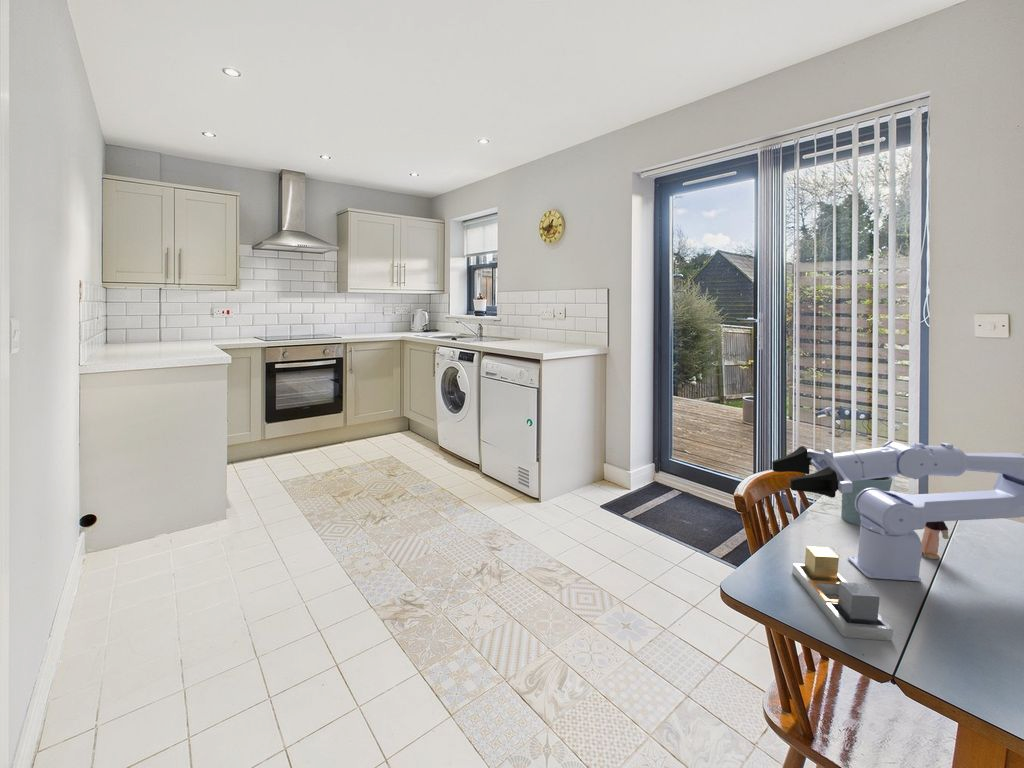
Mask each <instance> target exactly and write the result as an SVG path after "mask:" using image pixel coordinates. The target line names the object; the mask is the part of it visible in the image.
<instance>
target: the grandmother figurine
mask: <svg viewBox="0 0 1024 768" xmlns="http://www.w3.org/2000/svg"><path fill="white" fill-rule="evenodd" d="M923 530H924V531H923V534H922V539H921V540H920V541H921V545H922V553H921V554H923V557H924V558H926V559H929V560H930V559H931V560H939V559H940V558H941V557H940V555H939V554H938V553H939V547H940V535H939V534H940V532H941V535H942V536H941V537H942V538H943V539H944V540H948V539H949V538H950V536H949V527H948V526H947V524H946V523H945V521H938V522H926V525H925V527H924V529H923Z"/></svg>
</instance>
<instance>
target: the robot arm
mask: <svg viewBox="0 0 1024 768" xmlns="http://www.w3.org/2000/svg"><path fill="white" fill-rule="evenodd" d="M810 466H813V467H814V468H815V470H816V472H813V473H810ZM771 467H772V471H773V472H776V473H786V472H787V473H788V472H793V473H802V474H805V475H800V476H796V477H792V478H791V479H790V480H789V481H790V482H789V483H790V490H791V491H793V492H794V491H795V492H803V493H804V492H806V493H813V494H819V495H822V496H826V497H828V498H835V497H836V493H837V491H838V492H839V493H841V494H842V493H849V492H852V485H853V483H852V482H851V481H859V480H866V479H874V478H882V477H889V476H891V477H895V476H899V475H900V476H903V477H906V478H908V479H909V478H910V479H914V480H918V479H921V478H923V477H925V476H934V477H935V476H937V477H939V476H940V477H959V476H962V475H963V474H964V473H965V472H982V473H992V474H993V473H994V474H998V475H997V478H996V480H995V482H994V485H993V489H991V490H974V491H972V490H971V491H955V492H954V491H953V492H936V493H919V494H918V493H917V494H915V493H914V494H908V493H904V492H900V491H899V492H898V491H893V490H890V491H882V490H880V489H877V488H866V489H864V490H862V491H861V492H859V493H858V495H857V496H856V498H855V508H856V510H857V511H858V512H859V513H860V514H861V515H860V520H861V526H860V527H859V528H860V530H859V540H858V550H857V556H847V559H848V561H849V562H850V563H852V564H853V566H855V567H856V568H857V569H858V570H859V571H860V572H862V574H864V576H865V577H867V578H869V579H880V580H881V579H882V580H893V581H895V580H896V581H911V582H912V581H913V582H922V578H921V577H920V570H921V563H922V562H921V560H922V554H923V553H922V545H921V541H922V540H921V537H920V536H919V535H918V533H917V532H916V531H915V530H917V531H918V530H924V527H925V525H926V522H938V521H944V522H954V521H955V522H956V521H957V522H958V521H973V520H974V521H975V520H977V521H978V520H994V519H996V520H997V519H998V520H999V519H1014V518H1015V519H1016V518H1023V517H1024V453H1018V452H1017V453H1016V452H1012V451H1009V452H964V451H963V450H961V448H959V447H957V446H954V444H951V443H948V442H941V443H940V445H925V444H924V443H922V442H915V443H914V445H908V444H906V443H903V442H900V441H899V442H898V441H896V442H895V441H893V440H890V441H887V442H884V443H883V444H882V445H881V446H880V447H875V448H874V447H873V448H871V447H870V448H866V449H857V450H851V451H850V450H849V451H844V452H843V451H842V452H836V453H834V452H832V451H831V450H830V449H829V448H827V449H824V450H823V452H821V451H820V452H819V451H816V450H813V449H811V448H806V447H805V446H799V447H798V448H797V449H795V450H794V451H792V452H791V453H789V454H787V455H785V456H783V457H780V458H777V459H775V460H773V461H772V462H771Z"/></svg>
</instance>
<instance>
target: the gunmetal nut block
mask: <svg viewBox="0 0 1024 768" xmlns="http://www.w3.org/2000/svg"><path fill="white" fill-rule="evenodd" d="M837 596H838V597H837V598H838V599H837V600H838V608H837V611H838V613H839V614H840V615H841V616H842V617H843V619H844V620H845V621H846V622H847V623H854V624H866V625H877V619H878V614H879V607H880V599H881V597H880V595H878V593H877V592H875V591H874V590H873V589H872V588H871V587H870V586H869V585H868V584H867V583H863V582H850V581H849V582H848V581H847V582H840V585H839V595H837Z"/></svg>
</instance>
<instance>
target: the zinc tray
mask: <svg viewBox="0 0 1024 768" xmlns="http://www.w3.org/2000/svg"><path fill="white" fill-rule="evenodd" d="M804 567H805V563H795V562H794V563H792V572H791V573H792V575H793V576H794V577H795V578H796V579H797V581H798V582H799V583H800V584H801V585H802V587H803V589H805V591H806V592H807V593H808V595H810V597H811V598H812V599H813V601H814V602H815V603H816V604H817V606H818V607H819V608H820V609H821V611H822V612H823V613H824V615H825V616H826V618H828V619H829V621H830V622H831V623H832V625H833V626H834V627H835V629H836V630H837V631H838V632H839V633H840V634H841V636H842V637H843V638H849V639H850V638H851V639H861V640H864V639H865V640H874V641H875V640H876V641H886V642H888V641H889V642H893V636H894V635H893V634H894V629H893V628H892V626H891V625H889V623H888V622H887V621H886V620H885V619H884V618H883V617H882V616H881V615H880V614H879V613H878V619H877V625H866V624H854V623H847V622H846V621H845V620H844V619H843V617H842V616H841V615H840V614H839V613H838V611H837V608H838V599H835V598H832V599H831V598H828V597H827V596H826V595H831V596H832V595H833V596H834V595H835V596H839V585H840V582H848V581H847V580H846V579H845V578H844V577H843V576H842V575H841V574H840V573H839V572H838V573H837V582H830V581H815V580H810V578H809V577H808V576H807V575H806V574H805V572H804Z"/></svg>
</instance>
